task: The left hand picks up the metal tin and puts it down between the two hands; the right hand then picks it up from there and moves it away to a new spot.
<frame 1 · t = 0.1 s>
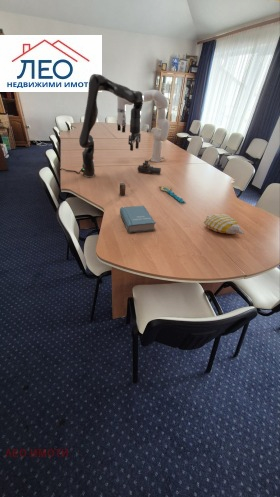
left hand: (134, 149, 167), 29 cm above the table, tool pointing down, fingers open, 8 cm apart
right hand: (121, 131, 216), 31 cm above the table, tool pointing down, fingers open, 9 cm apart
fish: (222, 230, 136), on the table
tin: (122, 195, 169), on the table
book: (136, 222, 137), on the table
laser sight: (148, 173, 216), on the table
logo: (172, 194, 176), on the table
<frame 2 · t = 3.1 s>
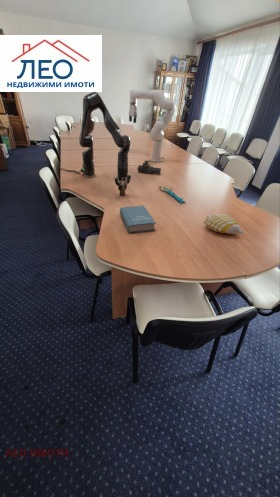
left hand: (122, 189, 167), 4 cm above the table, tool pointing down, fingers closed on tin, 4 cm apart
right hand: (132, 122, 248), 35 cm above the table, tool pointing down, fingers open, 9 cm apart
tin: (122, 195, 169), on the table, touching left hand
everything else where it was.
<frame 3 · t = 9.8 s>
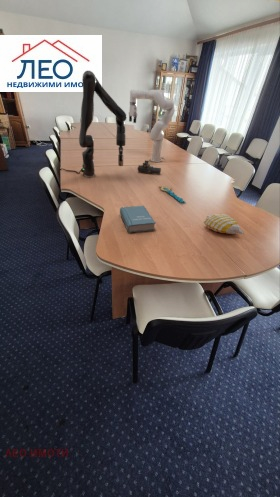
left hand: (120, 160, 193), 15 cm above the table, tool pointing down, fingers closed on tin, 4 cm apart
right hand: (132, 122, 248), 35 cm above the table, tool pointing down, fingers open, 9 cm apart
tin: (120, 165, 195), point 11 cm above the table, touching left hand
everything else where it was.
when the left hand's fingers open (6 cm above the table, at t = 16.9 s): tin drops 1 cm, on the table.
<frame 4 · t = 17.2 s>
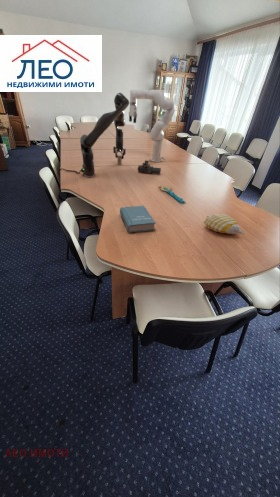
left hand: (119, 158, 230), 6 cm above the table, tool pointing down, fingers open, 7 cm apart
right hand: (132, 122, 248), 35 cm above the table, tool pointing down, fingers open, 9 cm apart
tin: (119, 164, 233), on the table
everything else where it was.
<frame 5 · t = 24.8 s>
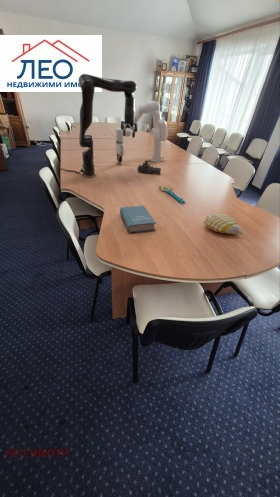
left hand: (128, 136, 178), 35 cm above the table, tool pointing down, fingers open, 8 cm apart
right hand: (119, 160, 231), 4 cm above the table, tool pointing down, fingers closed on tin, 4 cm apart
tin: (119, 164, 233), on the table, touching right hand
everything else where it was.
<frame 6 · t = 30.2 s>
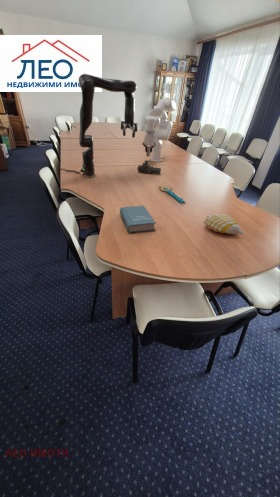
left hand: (128, 136, 178), 35 cm above the table, tool pointing down, fingers open, 8 cm apart
right hand: (148, 152, 224), 15 cm above the table, tool pointing down, fingers closed on tin, 4 cm apart
tin: (148, 155, 227), point 11 cm above the table, touching right hand
everything else where it was.
when the right hand's fingers open (5 cm above the table, at t = 36.0 s): tin drops 1 cm, on the table.
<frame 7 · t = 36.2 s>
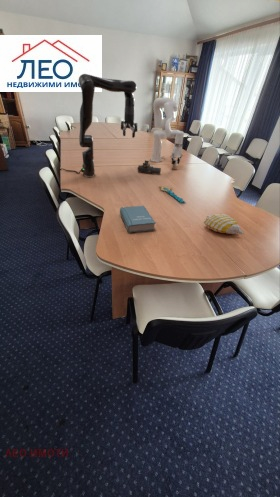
left hand: (128, 136, 178), 35 cm above the table, tool pointing down, fingers open, 8 cm apart
right hand: (175, 163, 229), 5 cm above the table, tool pointing down, fingers open, 6 cm apart
tin: (174, 168, 232), on the table
everything else where it was.
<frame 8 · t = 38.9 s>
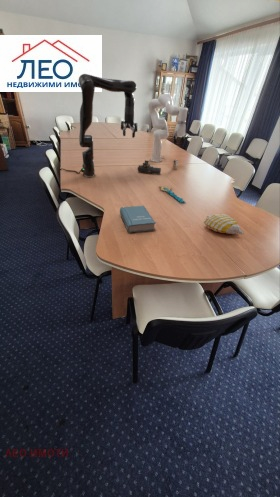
left hand: (128, 136, 178), 35 cm above the table, tool pointing down, fingers open, 8 cm apart
right hand: (178, 142, 217), 25 cm above the table, tool pointing down, fingers open, 9 cm apart
nothing on the table moved.
at the end: tin inside the target area (0.1 cm from its centre), on the table; tin tilted 0°; the two hands never held the tin at the same time; the left hand is holding nothing; the right hand is holding nothing; tin at rest at the end (0.0 cm/s) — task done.
